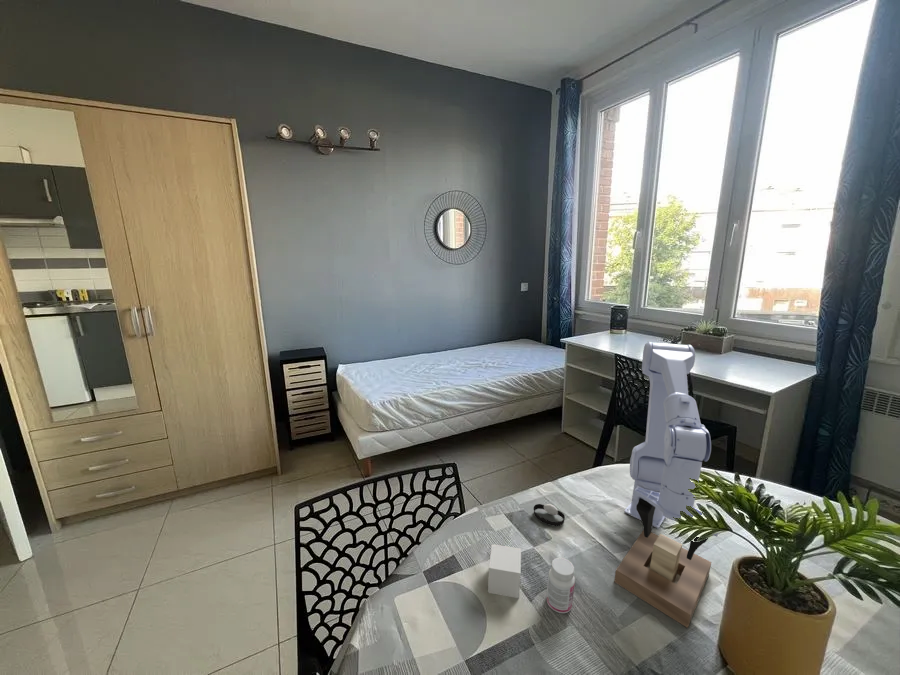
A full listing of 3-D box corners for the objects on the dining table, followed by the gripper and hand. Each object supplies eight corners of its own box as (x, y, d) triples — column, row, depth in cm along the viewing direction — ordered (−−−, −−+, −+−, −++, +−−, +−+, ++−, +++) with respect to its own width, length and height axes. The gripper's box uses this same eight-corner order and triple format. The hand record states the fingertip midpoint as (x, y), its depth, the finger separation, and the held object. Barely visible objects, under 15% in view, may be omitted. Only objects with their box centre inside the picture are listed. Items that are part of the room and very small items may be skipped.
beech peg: (654, 565, 79) (660, 533, 77) (676, 577, 76) (682, 544, 74) (648, 576, 76) (653, 544, 74) (670, 589, 73) (676, 555, 71)
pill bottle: (573, 616, 68) (577, 579, 66) (546, 611, 69) (550, 574, 67) (570, 593, 72) (574, 557, 70) (545, 589, 73) (548, 553, 71)
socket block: (642, 539, 86) (644, 528, 85) (708, 574, 77) (711, 562, 76) (614, 581, 75) (615, 569, 74) (687, 628, 66) (690, 614, 65)
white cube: (490, 567, 78) (491, 543, 77) (519, 572, 77) (521, 548, 76) (487, 593, 72) (488, 567, 71) (519, 598, 71) (520, 573, 70)
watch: (566, 519, 92) (567, 507, 91) (561, 531, 88) (562, 518, 87) (536, 508, 96) (537, 496, 95) (530, 519, 92) (531, 506, 91)
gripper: (631, 477, 73) (622, 535, 76) (719, 515, 63) (705, 580, 66) (644, 463, 78) (635, 518, 81) (728, 496, 68) (714, 557, 71)
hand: (667, 545), depth 74 cm, fingers open, 7 cm apart
